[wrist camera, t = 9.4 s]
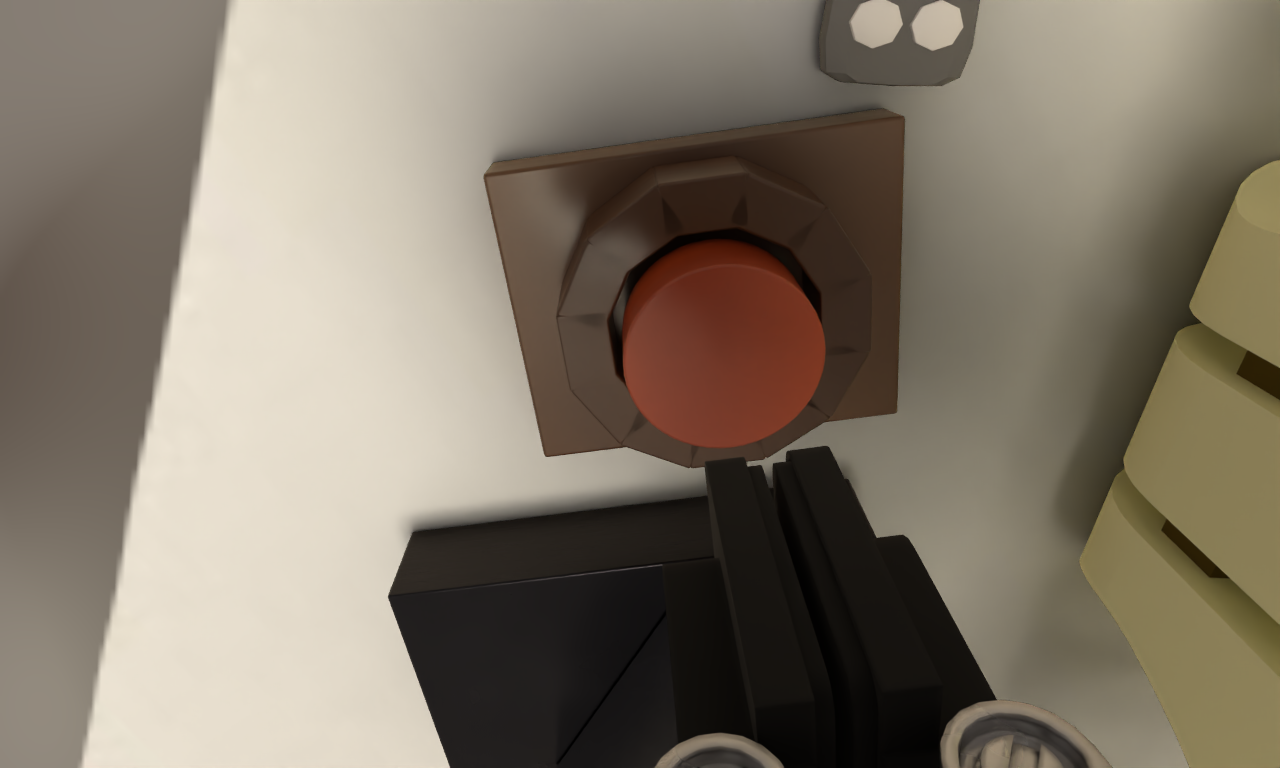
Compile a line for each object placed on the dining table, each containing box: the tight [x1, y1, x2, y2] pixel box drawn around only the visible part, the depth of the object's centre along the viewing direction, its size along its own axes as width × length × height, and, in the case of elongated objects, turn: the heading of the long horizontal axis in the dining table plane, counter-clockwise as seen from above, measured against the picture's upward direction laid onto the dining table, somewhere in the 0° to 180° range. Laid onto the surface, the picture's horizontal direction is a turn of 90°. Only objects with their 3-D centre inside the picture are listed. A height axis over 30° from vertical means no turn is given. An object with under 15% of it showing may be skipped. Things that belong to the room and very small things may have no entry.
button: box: [622, 239, 826, 448], centre depth 17 cm, size 4×4×2 cm
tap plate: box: [388, 479, 876, 768], centre depth 25 cm, size 14×10×3 cm
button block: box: [483, 108, 905, 468], centre depth 19 cm, size 10×8×4 cm
